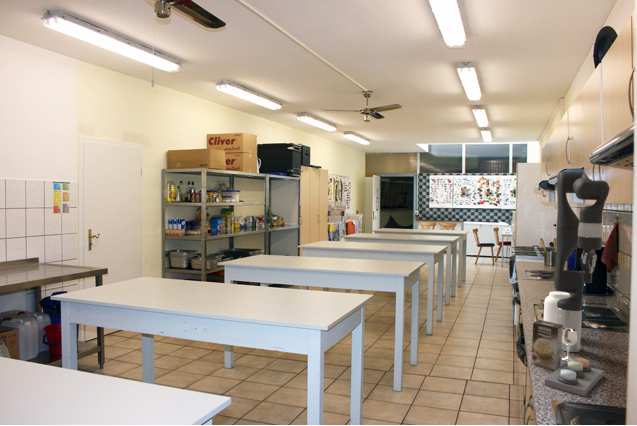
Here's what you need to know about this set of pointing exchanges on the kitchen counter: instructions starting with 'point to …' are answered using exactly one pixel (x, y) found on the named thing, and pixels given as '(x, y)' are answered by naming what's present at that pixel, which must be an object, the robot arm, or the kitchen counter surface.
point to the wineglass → (569, 340)
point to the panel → (578, 386)
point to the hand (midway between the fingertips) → (587, 282)
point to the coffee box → (547, 344)
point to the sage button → (575, 365)
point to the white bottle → (553, 305)
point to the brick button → (584, 361)
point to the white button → (568, 374)
